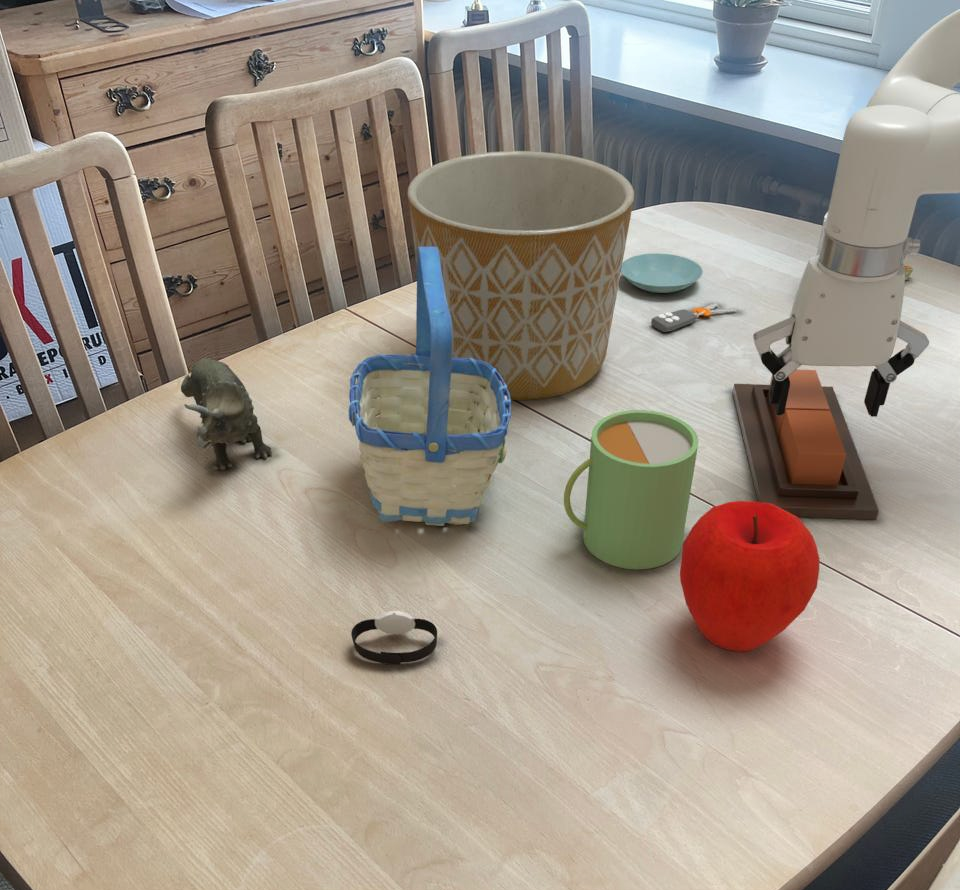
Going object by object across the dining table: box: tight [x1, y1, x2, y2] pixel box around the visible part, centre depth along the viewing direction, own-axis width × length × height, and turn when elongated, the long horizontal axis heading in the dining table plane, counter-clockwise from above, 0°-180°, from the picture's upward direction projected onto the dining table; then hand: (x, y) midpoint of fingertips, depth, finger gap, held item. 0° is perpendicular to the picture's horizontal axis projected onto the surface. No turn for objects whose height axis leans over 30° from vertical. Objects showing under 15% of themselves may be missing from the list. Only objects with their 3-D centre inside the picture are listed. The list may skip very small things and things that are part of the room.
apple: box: [679, 500, 821, 652], centre depth 92 cm, size 12×12×13 cm
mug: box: [563, 409, 700, 570], centre depth 103 cm, size 13×10×12 cm
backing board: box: [732, 368, 880, 520], centre depth 118 cm, size 26×12×5 cm, turn 176°
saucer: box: [621, 252, 704, 294], centre depth 152 cm, size 12×12×2 cm
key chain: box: [651, 302, 739, 333], centre depth 144 cm, size 13×4×2 cm, turn 123°
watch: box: [350, 610, 438, 665], centre depth 94 cm, size 8×5×4 cm, turn 91°
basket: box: [348, 247, 512, 527], centre depth 106 cm, size 21×16×24 cm
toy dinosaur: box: [180, 357, 273, 471], centre depth 117 cm, size 22×8×11 cm, turn 18°
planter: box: [407, 150, 635, 401], centre depth 128 cm, size 26×26×22 cm
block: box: [779, 409, 846, 485], centre depth 114 cm, size 9×5×4 cm, turn 176°
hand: (823, 409), depth 111 cm, fingers open, 9 cm apart
